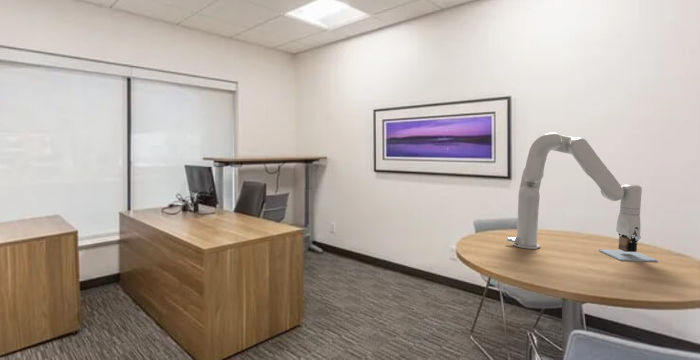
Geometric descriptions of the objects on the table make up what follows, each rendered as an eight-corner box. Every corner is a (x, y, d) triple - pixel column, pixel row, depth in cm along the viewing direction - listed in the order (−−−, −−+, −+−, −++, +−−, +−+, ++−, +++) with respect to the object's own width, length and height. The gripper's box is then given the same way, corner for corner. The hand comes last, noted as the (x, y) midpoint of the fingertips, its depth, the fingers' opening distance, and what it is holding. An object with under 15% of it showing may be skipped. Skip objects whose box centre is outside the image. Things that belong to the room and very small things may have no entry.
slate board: (620, 260, 166) (620, 259, 166) (598, 251, 182) (598, 249, 182) (657, 261, 165) (657, 260, 165) (632, 251, 181) (633, 250, 181)
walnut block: (625, 251, 171) (626, 239, 170) (618, 248, 176) (619, 236, 175) (636, 251, 170) (637, 239, 170) (629, 249, 175) (630, 236, 175)
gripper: (610, 208, 180) (607, 244, 182) (634, 214, 163) (631, 254, 165) (626, 208, 180) (623, 244, 181) (651, 214, 163) (649, 254, 164)
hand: (627, 248), depth 173 cm, fingers closed on walnut block, 5 cm apart
